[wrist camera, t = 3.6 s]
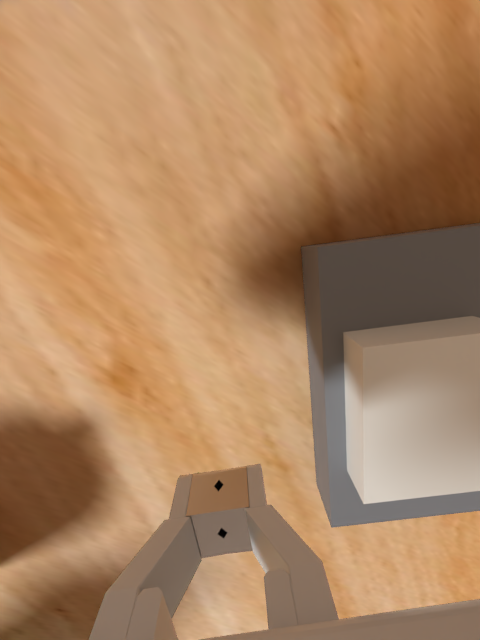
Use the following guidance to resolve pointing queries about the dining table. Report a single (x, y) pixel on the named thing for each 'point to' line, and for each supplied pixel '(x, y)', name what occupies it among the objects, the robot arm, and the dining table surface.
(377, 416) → the tile
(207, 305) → the dining table surface
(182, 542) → the robot arm
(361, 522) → the plate
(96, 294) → the dining table surface
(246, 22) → the dining table surface
